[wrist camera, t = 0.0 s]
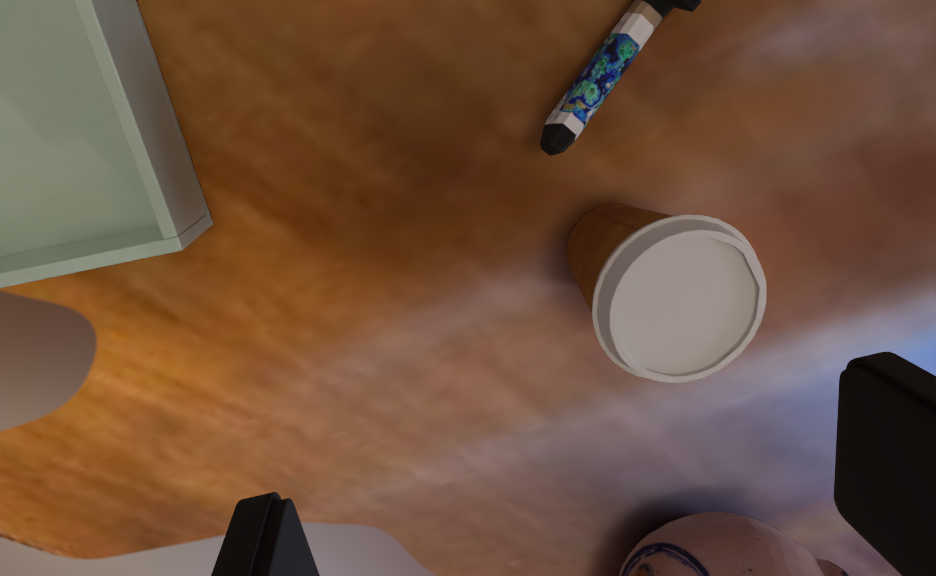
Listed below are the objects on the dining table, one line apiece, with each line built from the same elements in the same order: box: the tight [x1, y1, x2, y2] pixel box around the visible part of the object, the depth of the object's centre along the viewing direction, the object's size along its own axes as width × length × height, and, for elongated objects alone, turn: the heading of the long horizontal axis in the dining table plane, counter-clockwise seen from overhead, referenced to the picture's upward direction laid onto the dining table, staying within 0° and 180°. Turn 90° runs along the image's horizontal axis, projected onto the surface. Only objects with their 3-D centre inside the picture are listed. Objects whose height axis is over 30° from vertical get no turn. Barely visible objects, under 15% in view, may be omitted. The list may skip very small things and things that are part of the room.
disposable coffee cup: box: [566, 204, 766, 383], centre depth 36 cm, size 10×10×12 cm
